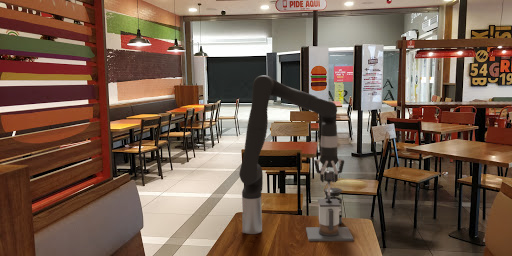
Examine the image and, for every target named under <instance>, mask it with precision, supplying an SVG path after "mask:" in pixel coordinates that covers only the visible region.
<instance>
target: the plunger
mask: <svg viewBox="0 0 512 256" xmlns="http://www.w3.org/2000/svg"><path fill="white" fill-rule="evenodd" d="M334 173H335V172H334V170H326V171H324V173H323V174H324V182H327V188H328V196H327V197H328V203H330V197H331V196H330V188H331V182H332V181H334ZM332 183H333V182H332Z"/></svg>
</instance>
